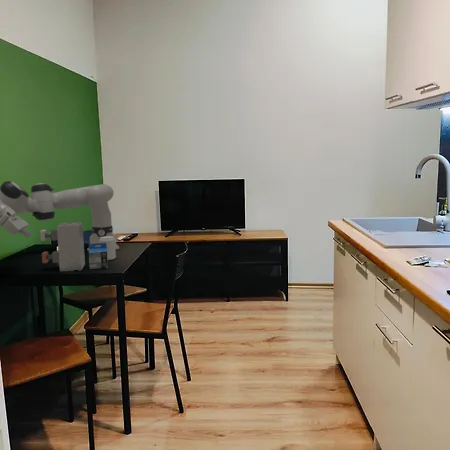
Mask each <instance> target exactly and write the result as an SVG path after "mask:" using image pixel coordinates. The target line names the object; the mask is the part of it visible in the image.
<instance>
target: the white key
mask: <svg viewBox="0 0 450 450" xmlns="http://www.w3.org/2000/svg"><path fill="white" fill-rule="evenodd" d="M47 231H48V230H47V229H41V230H40V231H39V233H40V235H39V236H40V242H45V241H47V240H48V238H50V239H51V232H47Z"/></svg>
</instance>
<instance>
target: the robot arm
mask: <svg viewBox="0 0 450 450" xmlns="http://www.w3.org/2000/svg"><path fill="white" fill-rule="evenodd" d="M54 190H55V189H54V188H52V187H51V186H50V185H49V184H47V183H44V182H42V183H41V182H39V183H35V184H33V185H32V186H31V188H30V193H31V197H30V195H29V193H28V192H27V191H26V190H24V188H23V187H20V186H19V185H18V184H17V183H15V182H14V181H12V180H7V181H3V183H2V184H1V185H0V227H2V229H4V230H6V231H7V232H8V233H10V234H11V235H14V236H15V235H17V234H21V235H22V236H24V237H25V238H29V237H31V236H32V233H31V232H30V231H29V230H28V229H27V227H28V226H30V225H29V223H28V222H27V221H26V220H24V218H22V217H20V216H19V215H25V214H28V213H32V214H31V216H32V217H34V218H35V219H36V220H37V221H41V222H48V221H50V220H53V219H54V218H55V214H56V213H55V209H58V210H67V209H73V208H80V207H86V206H89V207H90V212H91V223H92V226H91V233H92V234H91V235H90V236H89V244H94V243H100V237H104V236H113V237H114V238H115V249H116V250H119V249H120V246H119V245H118V244H117V239H116V235H115V234H114V231H113V230H114V229H113V228H114V227H113V224H112V213H111V210H110V207H109V202H110V200H111V199H112V198H113V197H114V189H113V188H112V187H111V186H110V185H108V184H106V183H102V184H95V185H89V186H88V185H87V186H84V187H83V186H82V187H77V188H72V189H71V188H70V189H64V190H60V191H57V192H53V191H54ZM95 247H100V245H97V246H95ZM86 249H87V250H86V251H89V247H88V248H86Z"/></svg>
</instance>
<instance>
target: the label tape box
mask: <svg viewBox="0 0 450 450" xmlns="http://www.w3.org/2000/svg"><path fill="white" fill-rule="evenodd" d="M97 245H100V247H95V246H97ZM88 248H89V250H88V264H89V270H97V269H108V268H109V262H108V261H109V260H108V258H107V245H106V243H94V244H90V243H88Z"/></svg>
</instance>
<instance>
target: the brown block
mask: <svg viewBox="0 0 450 450" xmlns="http://www.w3.org/2000/svg"><path fill="white" fill-rule="evenodd" d="M41 260H42V261H41V262H42V264H48V262H49V261H50V260H52V254H49V251H43V252H42V253H41Z"/></svg>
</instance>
